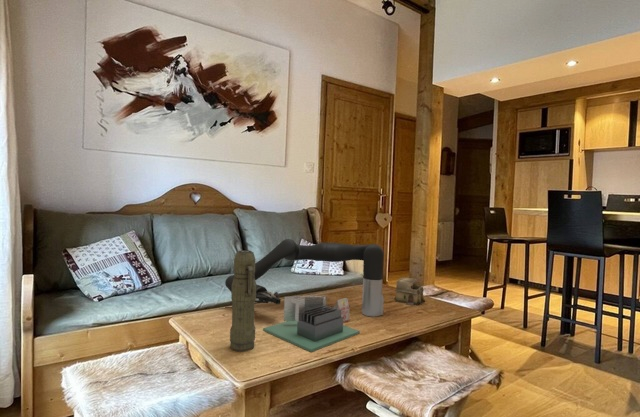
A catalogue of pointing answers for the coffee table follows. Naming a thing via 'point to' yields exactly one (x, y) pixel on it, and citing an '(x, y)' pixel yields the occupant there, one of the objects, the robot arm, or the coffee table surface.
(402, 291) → the miniature house
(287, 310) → the silver metal plate
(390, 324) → the coffee table surface
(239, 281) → the thermos
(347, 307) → the tea bag
